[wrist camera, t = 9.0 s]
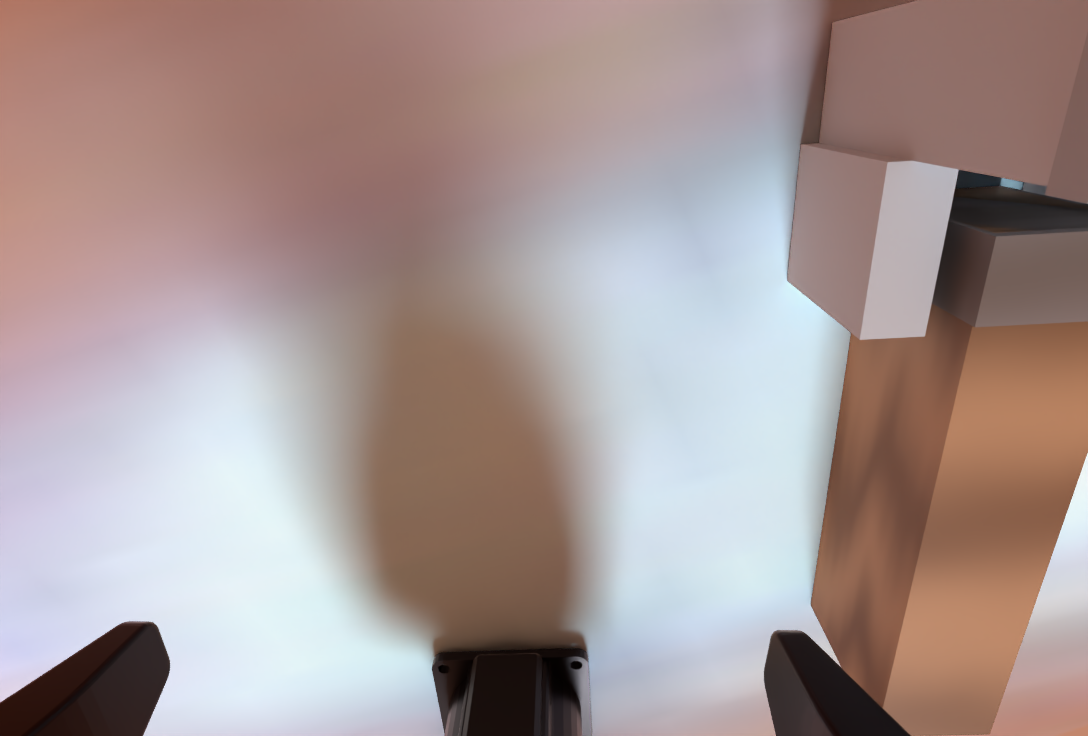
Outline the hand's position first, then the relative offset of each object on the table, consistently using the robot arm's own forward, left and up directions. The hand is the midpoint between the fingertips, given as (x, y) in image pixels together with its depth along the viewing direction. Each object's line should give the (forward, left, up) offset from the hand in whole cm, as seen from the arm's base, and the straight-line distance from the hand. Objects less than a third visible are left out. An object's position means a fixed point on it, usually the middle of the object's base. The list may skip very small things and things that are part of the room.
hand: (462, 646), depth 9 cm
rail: (-4, -13, -12) cm, 18 cm away
